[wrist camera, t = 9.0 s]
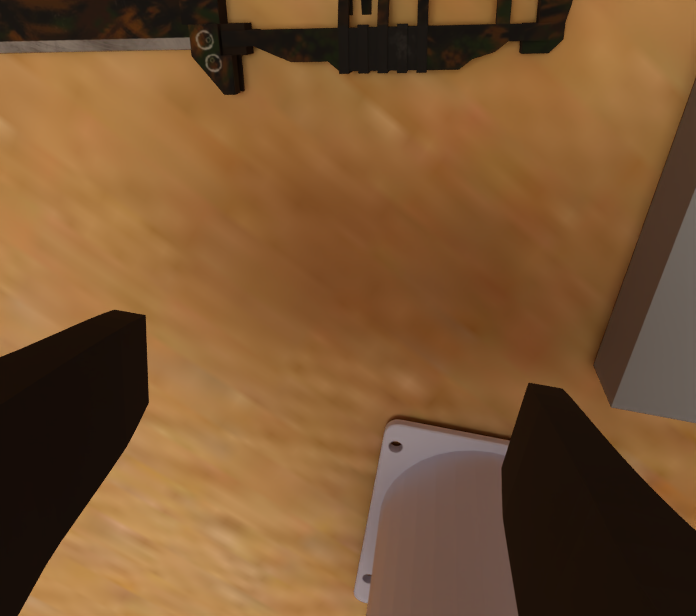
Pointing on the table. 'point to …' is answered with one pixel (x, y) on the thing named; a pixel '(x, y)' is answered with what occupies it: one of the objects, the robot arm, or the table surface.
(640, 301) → the socket block
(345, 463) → the table surface
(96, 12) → the knife
